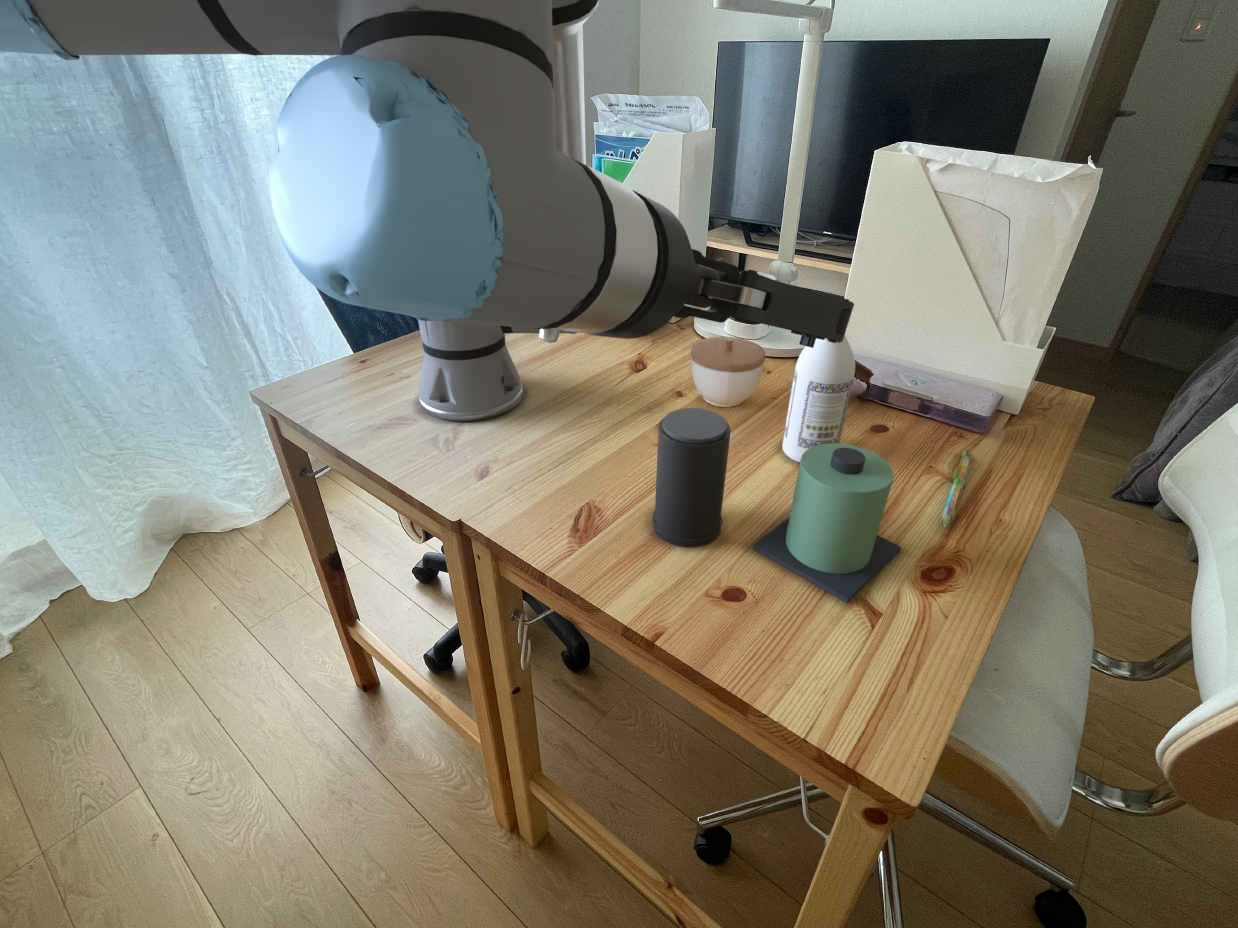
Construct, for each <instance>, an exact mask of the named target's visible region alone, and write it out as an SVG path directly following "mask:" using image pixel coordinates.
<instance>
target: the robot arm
mask: <svg viewBox="0 0 1238 928" xmlns="http://www.w3.org/2000/svg"><path fill="white" fill-rule="evenodd" d="M598 6H599V0H0V52H4V53H21V54H36V55H37V54H38V55H55V56H57V57H59V58H61V59H63V60H66V61H77V60H80V58H81V56H159V55H160V56H165V55H167V56H169V55H172V56H174V55H180V56H183V55H249V56H254V57H255V56H331V57H328V58H326V59H324V60H322V61H320V62H318V63H316V64H315V65H314V66H313V67H311V68H310V69H309V70H307V71H306V73H304V75H302V77H300V78H299V80H298V81H297V82H296V83H295V85H294V86H293V88H292V90H291V92H290V93H289V94H288V97H287V98H286V99H285V101H284V103H283V105H282V108H281V110H280V112H279V116H278V119H277V122H276V125H275V130H276V131H275V132H276V135H277V138H278V143H279V144H278V150H277V155H276V156H275V158H274V160H271V161H270V163H269V165H268V188H269V195H270V196H269V197H270V206H271V211H272V215H273V220H274V223H275V226H276V229H277V232H278V236H279V238H280V241H281V242H282V244H283V246H284V249H285V251H286V252H287V254H288V257H289V258H290V259H291V261H292V263H293V264H294V266H295V267H296V269H297V270H298V271H299V272H300V274H301V275H302V276H303V277H304V278H305V279H306V281H308V282H309V283H310V284H311V285H313V286H314V287H315V288H317V290H319V291H320V292H322V293H324V294H325V295H326V296H328V297H330V298H332V299H334V300H336V301H338V302H341V303H343V304H347V305H351V306H356V307H362V308H366V309H372V310H378V311H383V312H388V313H394V314H399V315H405V316H410V317H411V318H414V319H416V320H417V322H418V328H419V333H420V338H421V343H422V349H423V359H422V366H421V371H420V377H419V383H418V400H419V405H420V408H421V409H422V410H423V411H424V412H425V413H426V414H428V415H429V416H432V417H434V418H436V419H441V420H445V421H451V422H452V421H453V422H473V421H480V420H481V421H482V420H486V419H491V418H494V417H497V416H500V415H502V414H505V413H507V412H508V411H510V410H512V409H514V408H515V407H516V406H517V405H518V404H520V402H521V401H522V399H523V395H524V391H523V383H522V380H521V379H522V378H521V377H520V374H519V372H518V370H517V368H516V365H515V362H514V361H513V359H512V356H511V354H510V352H509V350H508V348H507V343H506V334H539V335H538V338H539V340H541V341H542V342H545V343H548V344H553V343H557V342H558V339H559V335H560V334H571V335H576V334H579V333H580V334H587V335H591V336H595V337H607V338H613V339H614V338H616V339H624V340H625V339H627V340H630V339H639V338H643V337H646V336H648V335H651V334H653V333H655V332H657V331H658V330H660V329H662V328H663V327H664V326H665V325H667V323H668V322H670V320H671V319H673V318H678V319H685V318H687V317H694V318H698V319H703V320H707V321H711V322H716V323H720V324H721V323H725V322H726V321H727V320H729V318H731V319H734V321H737V322H741V323H744V322H747V321H748V322H753V323H757V324H761V325H765V326H769V327H770V326H771V327H775V328H778V329H782V330H787V331H790V334H794V335H799V336H800V340H799V343H798V344H799V346H800V345H801V346H804V347H806V346H807V347H811V348H813V347H814V344H815V341H816V338H817V339H821V340H825V338H826V339H827V340H828V342H832V343H836V342H838V341H839V342H838V343H840V342H842V341H843V338H844V335H845V336H846V333H847V328H848V325H849V322H850V319H851V316H852V312H853V310H854V306H855V303H854V302H853V301H850V299H848V298H843V297H841V298H837V297H834V296H830V295H827V294H823V293H820V292H817V291H813V290H810V289H807V288H803V287H799V286H796V285H793V284H789V283H786V282H782V281H778V280H776V279H772V278H770V277H767V276H765V275H762V274H759V273H758V271H757V270H754V269H748V270H745V269H744V270H740V268H739V266H737V265H736V264H731V263H729V262H728V263H727V262H725V261H720V260H716V259H713V258H709V257H705V256H704V255H703V253H702V252H701V251H699V250H697V249H693V248H692V245H691V242H690V239H689V236H688V233H687V232H686V231H687V230H686V229H685V227H684V225H683V224H682V222H681V221H680V219H679V218H678V217H677V215H675V214H674V213H673V212H672V211H671V210H670V209H669V208H668V207H666V206H664V205H662V204H661V203H659V202H657V201H655V200H653V199H651V198H650V197H647V196H645V195H643V194H641V193H640V192H637V191H636V190H633V189H632V188H631V187H630V186H628V185H627V184H625V183H623V182H621V181H619V180H617V179H616V178H613V177H611V176H609V175H607V174H606V173H603V172H601V171H600V170H597V169H595V168H594V167H591V166H589V165H587V156H586V155H587V154H586V153H587V152H586V147H587V146H586V110H585V108H586V107H585V67H584V65H585V64H584V63H585V62H584V28H583V27H584V26H583V25H584V24H585V23H586V21H587V20H588V19H589V18H590V17H591V16H592V15H593V14H594V12H596V10H597V8H598ZM707 308H708V309H707Z"/></svg>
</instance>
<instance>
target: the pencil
mask: <svg viewBox="0 0 1238 928" xmlns="http://www.w3.org/2000/svg"><path fill="white" fill-rule="evenodd" d="M973 457H974V453H973V451H972V450H969V449H966V450H964V451H963V452H962V454H961V457H960V461H959V464H958V468H957V471H956V473H955V477H954V479H953V483H952V486H951V489H950V492H949V495H948V498H947V501H946V504H945V507H944V510H943V513H942V515H941V518H942V522H943V528H944V529H946V528H947V527H948V526H949V525H950V524H951V523H952V522H953V521H954V519H955V516H956V513H957V510H958V506H959V503H960V500H961V496H962V494H963V490H964V488H965V487H964V486H965V484H966V479H967V477H968V473H969V470H970V467H971V464H972V461H973Z"/></svg>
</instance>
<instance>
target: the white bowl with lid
mask: <svg viewBox="0 0 1238 928" xmlns="http://www.w3.org/2000/svg"><path fill="white" fill-rule="evenodd" d="M690 357H691V358H690V373H691V374H690V375H691V378H692V384H693V386H694V388H695V389H696V391H697V392H698V394H700V396H702V398H703V400H704V401H705V402H706V403H708V404H709V405H712V406H716V407H721V408H732V407H737V406H739V405H741V404H743V402H744V401H745V400H746V399H748V398H749V397H750V396H751V395H752V394H753V393H754V392H755V391H756V390H757V387H758V384H759V383H760V380H761V378H762V373H763V369H764V364H765V360H766V351H765V349H764V348H763V346H761V345H760V344H758V343H757V342H754V341H751V340H748V339H745V338H740V337H734V336H714V337H713V336H712V337H706V338H702V339H700V340H698V341H696V342H695V343H694V344H693V345H692V346H691V349H690Z"/></svg>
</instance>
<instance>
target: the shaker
mask: <svg viewBox="0 0 1238 928" xmlns="http://www.w3.org/2000/svg"><path fill="white" fill-rule="evenodd" d="M731 433H732V429H731V426H730V424H729V422H728V421H727V420H726V419H725V417H723V416H722V415H721V414H719V413H717V412H715V411H713V410H709V409H706V408H700V407H684V408H679V409H675V410H672V411H670V412H668V413H667V414H666V415H665V416H664V417H662V418H661V419H660V421H659V423H658V431H657V452H656V453H657V454H656V458H657V459H656V476H655V477H656V478H655V497H654V500H655V501H654V512H653V514H652V528H653V531H654V533H655V534H656V535H657V536H658V537H659V538H660V539H661V540H662V541H664V542H666V543H668V544H670V545H673V546H676V547H681V548H700V547H703V546H706V545H709V544H711V543H713V542H715V540H717V539H718V538H719V536H720V535H721V532H722V527H723V517H722V512H723V502H724V494H725V485H726V476H727V466H728V459H729V451H730V441H731V435H732V434H731Z"/></svg>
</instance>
